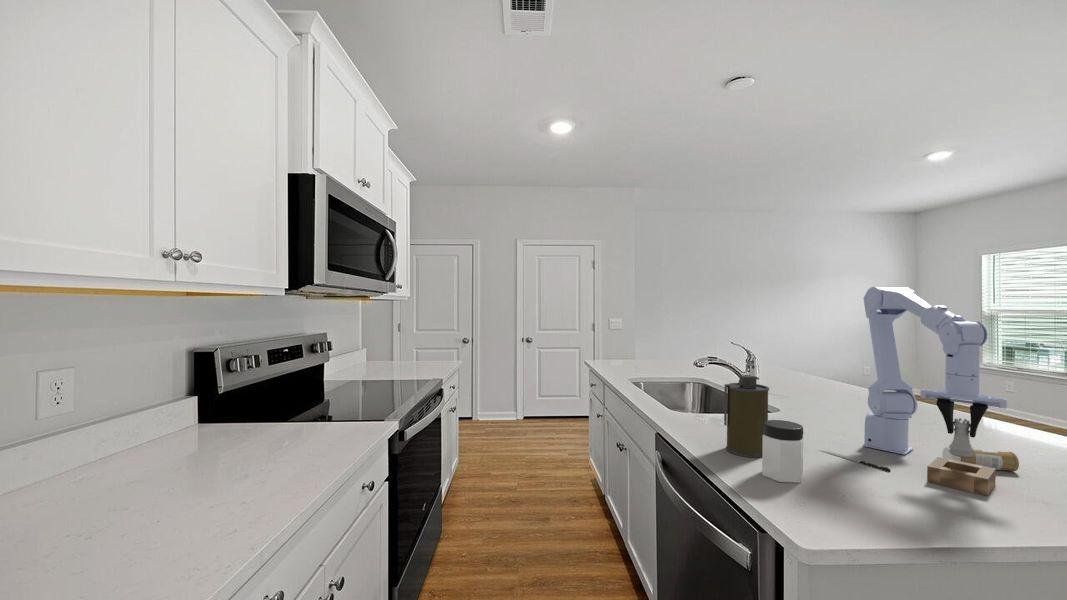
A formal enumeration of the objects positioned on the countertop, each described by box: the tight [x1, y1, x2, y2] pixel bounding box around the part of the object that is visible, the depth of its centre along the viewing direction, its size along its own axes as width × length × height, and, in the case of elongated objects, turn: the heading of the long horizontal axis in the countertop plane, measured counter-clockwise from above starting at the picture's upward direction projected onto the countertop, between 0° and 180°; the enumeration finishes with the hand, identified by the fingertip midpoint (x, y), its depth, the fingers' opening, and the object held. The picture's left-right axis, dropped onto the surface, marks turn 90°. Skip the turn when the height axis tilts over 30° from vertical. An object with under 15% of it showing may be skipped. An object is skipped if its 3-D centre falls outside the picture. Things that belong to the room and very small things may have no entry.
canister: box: [723, 375, 770, 459], centre depth 129 cm, size 11×10×20 cm
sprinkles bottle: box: [941, 446, 1020, 472], centre depth 117 cm, size 5×5×14 cm
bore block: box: [926, 456, 997, 497], centre depth 108 cm, size 10×10×4 cm
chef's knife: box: [818, 449, 892, 473], centre depth 124 cm, size 19×1×3 cm
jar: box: [761, 419, 804, 484], centre depth 111 cm, size 9×8×12 cm
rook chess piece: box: [948, 418, 975, 458], centre depth 110 cm, size 4×4×8 cm
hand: (961, 434), depth 110 cm, fingers closed on rook chess piece, 3 cm apart
